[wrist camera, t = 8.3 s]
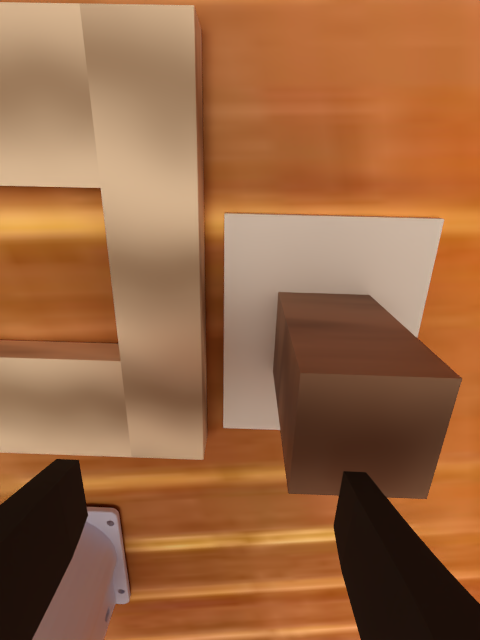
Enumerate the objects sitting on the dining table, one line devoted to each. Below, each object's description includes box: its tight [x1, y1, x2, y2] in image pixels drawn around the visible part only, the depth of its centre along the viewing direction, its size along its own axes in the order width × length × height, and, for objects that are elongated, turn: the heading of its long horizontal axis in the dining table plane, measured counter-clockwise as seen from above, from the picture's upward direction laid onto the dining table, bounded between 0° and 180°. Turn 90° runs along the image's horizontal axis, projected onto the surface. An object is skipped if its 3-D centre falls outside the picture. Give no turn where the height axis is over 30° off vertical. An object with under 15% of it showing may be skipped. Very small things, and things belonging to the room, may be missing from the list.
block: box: [273, 292, 462, 499], centre depth 14 cm, size 4×4×8 cm
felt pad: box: [223, 213, 444, 430], centre depth 18 cm, size 12×10×1 cm
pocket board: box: [0, 2, 207, 460], centre depth 17 cm, size 20×16×2 cm
